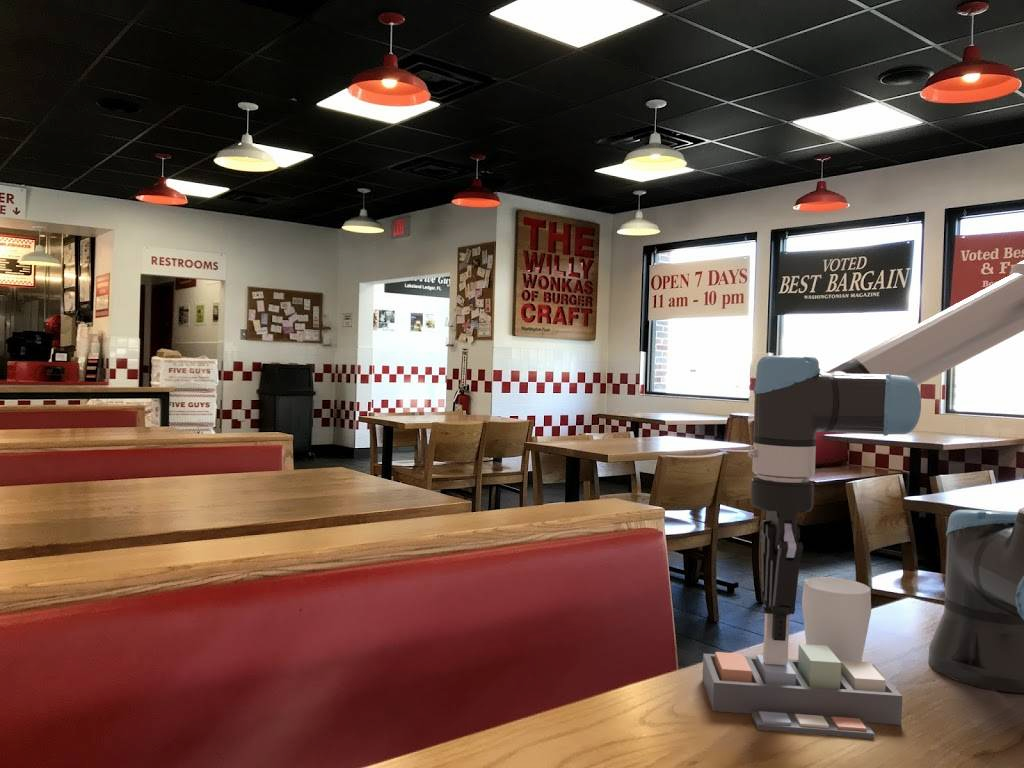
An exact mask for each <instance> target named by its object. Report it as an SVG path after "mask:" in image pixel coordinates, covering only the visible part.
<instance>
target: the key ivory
mask: <svg viewBox="0 0 1024 768" xmlns="http://www.w3.org/2000/svg"><path fill="white" fill-rule="evenodd" d="M840 662H841V674H842V675H843V677H844V678H845V679H846V680H847V682H848V683H849V684H850V686H851V687H852V688H853V689H854V690H861V691H875V692H885V688H886V680H885V679H884V678H883V677H882V676H881V675H880V673H879V672H878V671H877V670H876V669H875V668H874V667H873V666H872V665H873V664H871V662H870V661H869V662H868V661H861V662H858V661H843V660H840Z"/></svg>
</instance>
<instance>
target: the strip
mask: <svg viewBox="0 0 1024 768" xmlns="http://www.w3.org/2000/svg"><path fill="white" fill-rule="evenodd" d="M751 717H752V720H753V723H754V724H755V727H756V729H757V731H770V732H780V733H781V732H782V733H795V734H806V735H808V734H809V735H810V734H811V735H822V736H835V737H847V738H861V739H871V740H872V739H874V740H875V732H874V731H873V729H872V728H871V727H870V725H868V724H869V723H867V722H865V720H861V719H858V718H845V717H823V716H818V715H804V714H795V715H794V714H787V713H777V712H764V711H759V712H754V711H752V714H751Z"/></svg>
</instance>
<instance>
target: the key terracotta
mask: <svg viewBox="0 0 1024 768" xmlns="http://www.w3.org/2000/svg"><path fill="white" fill-rule="evenodd" d="M714 654H715V670H716V672H717V675H718V677H719V680H720V681H733V682H747V683H751V682H752V670H751V668H750V666H749V664H748V662H747V660H746V658H745V655H744V653H739V652H724V651H723V652H722V651H715V653H714Z"/></svg>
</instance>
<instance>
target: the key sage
mask: <svg viewBox="0 0 1024 768" xmlns="http://www.w3.org/2000/svg"><path fill="white" fill-rule="evenodd" d="M797 652H798V653H797V654H798V655H797V660H798V671H799V673H800V674H801V676H802V677H803V679H804V680H805V682H806V683H807V685H808V686H809V687H818V688H832V689H840V681H841V662H840V661H839V659H838V658H837V657H836V656H835V655H834V653H833V652H832V651H831V650H830V648H829V647H828V646H823V645H808V644H806V643H805V644H804V643H798V651H797Z"/></svg>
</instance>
